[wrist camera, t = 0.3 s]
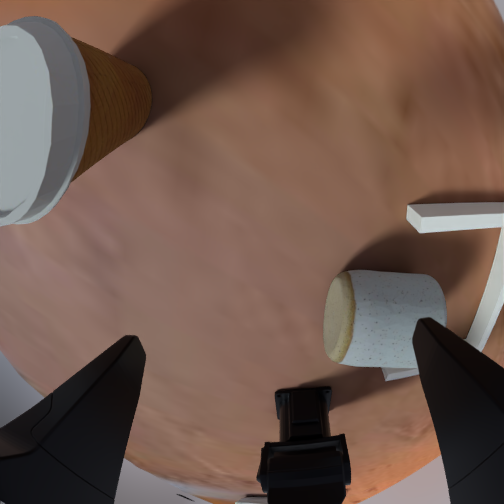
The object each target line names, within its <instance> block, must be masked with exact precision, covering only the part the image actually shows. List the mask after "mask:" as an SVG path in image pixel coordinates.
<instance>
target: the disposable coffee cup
mask: <svg viewBox="0 0 504 504" xmlns="http://www.w3.org/2000/svg"><path fill="white" fill-rule="evenodd" d="M151 103H152V95H151V88H150V85H149V83H148V81H147V79H146V77H145V75H144V74H143V73H142V72H141V71H140V70H139V69H138V68H137V67H135V66H133V65H131V64H128V63H126V62H125V61H122V60H121V59H118V58H117V57H114V56H112V55H110V54H108V53H106V52H104V51H102V50H100V49H98V48H95V47H93V46H91V45H88V44H86V43H84V42H82V41H79V40H77V39H75V38H72V37H70V36H69V35H68V34H67V33H66V32H65V31H64V30H63V29H62V28H61V27H60V26H59V25H58V24H57V23H56V22H54V21H52V20H50V19H47V18H42V17H38V16H32V17H24V18H21V19H18V20H15V21H13V22H11V23H9V24H7V25H4V26H1V27H0V226H4V225H9V224H28V223H31V222H34V221H36V220H38V219H40V218H41V217H43V216H44V215H46V214H47V213H48V212H49V211H50V210H51V209H52V208H54V207H55V206H56V205H57V203H58V202H59V200H60V199H61V197H62V196H63V195H64V193H65V192H66V190H67V189H68V187H69V185H70V183H71V182H72V181H74V180H75V179H76V178H77V177H79V176H80V175H81V174H82V173H84V172H85V171H86V170H88V169H89V168H90V167H92V166H93V165H94V164H95V163H97V162H98V161H99V160H101V159H102V158H104V157H105V156H106V155H108V154H109V153H111V152H112V151H113V150H115V149H116V148H118V147H119V146H120V145H122V144H123V143H125V142H126V141H128V140H130V139H131V138H133V137H134V136H135V135H136V134H137V133H138V132H139V131H140V130H141V129H142V127H143V126H144V124H145V122H146V120H147V118H148V116H149V113H150V109H151Z"/></svg>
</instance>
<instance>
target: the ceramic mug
mask: <svg viewBox="0 0 504 504" xmlns="http://www.w3.org/2000/svg"><path fill="white" fill-rule="evenodd" d="M424 317H431V318H433V319H434V320H436V321H437V322H439V323H440V324H442V325H443V326H444V327H446V324H447V310H446V301H445V297H444V294H443V292H442V289H441V287H440V285H439V283H438V282H437V281H436V280H435V279H434V278H433V277H431V276H429V275H426V274H411V273H397V272H380V271H371V270H351V271H344V272H341V273H340V274H338V275H337V276H336V277H335V278H334V280H333V281H332V283H331V286H330V288H329V292H328V296H327V300H326V306H325V313H324V324H323V340H324V346H325V351H326V354H327V355H328V357H329V358H330V359H331V360H332V361H334V362H337V363H340V364H345V365H350V366H357V367H389V368H418V366H417V361H416V357H415V353H414V349H413V344H412V337H413V334H414V330H415V327H416V323H417V321H418V319H420V318H424Z"/></svg>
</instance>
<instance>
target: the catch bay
mask: <svg viewBox="0 0 504 504" xmlns="http://www.w3.org/2000/svg"><path fill="white" fill-rule="evenodd" d="M406 219H407V220H408V221H409V222H410V223H411V224H412V226H413V227H414V228H415V229H416V230H417V231H418V232H419V233H429V232H442V231H455V230H468V229H481V228H494V227H502V228H501V233H500V237H499V242H498V246H497V250H496V254H495V258H494V261H493V265H492V268H491V272H490V275H489V278H488V282H487V285H486V288H485V291H484V294H483V297H482V300H481V302H480V305H479V308H478V311H477V313H476V316H475V318H474V321H473V323H472V326H471V328H470V331H469V333H468V335H467V338H466V339H463V340H465V341H466V342H468V343H469V344H471V345H472V346H473V347H475V348H476V349H478V350H479V351H480V352H482V350H483V348H484V346H485V344H486V342H487V340H488V337H489V335H490V333H491V331H492V329H493V327H494V324H495V322H496V320H497V317H498V315H499V313H500V310H501V308H502V305H503V303H504V202H476V203H438V204H413V205H408V206H407V218H406ZM381 368H382V371H383V374H384V378H385V381H390V380H395V379H400V378H405V377H409V376H414V375H418V374H419V371H418V368H389V367H381Z"/></svg>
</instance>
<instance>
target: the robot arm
mask: <svg viewBox="0 0 504 504" xmlns="http://www.w3.org/2000/svg"><path fill="white" fill-rule="evenodd" d="M412 344H413V349H414V353H415V357H416V361H417V366H418V371H419V375H420V380H421V384H422V387H423V390H424V394H425V397H426V400H427V403H428V407H429V410H430V413H431V417H432V420H433V424H434V428H435V431H436V435H437V439H438V443H439V447H440V451H441V455H442V460H443V464H444V469H445V474H446V479H447V484H448V488H449V496H450V502H451V504H504V368H503V367H501V366H500V365H499V364H497V363H496V362H494V361H493V360H492V359H490V358H489V357H487V356H486V355H485V354H483V353H482V352H480V351H479V350H478V349H476V348H475V347H473V346H472V345H471V344H469V343H468V342H466V341H465V340H463V339H462V338H460V337H459V336H458V335H456V334H455V333H453V332H452V331H450V330H449V329H447V328H446V327H444V326H443V325H442V324H440V323H439V322H437V321H436V320H434V319H433V318H431V317H424V318H420V319H418V321H417V323H416V327H415V330H414V334H413V337H412ZM145 361H146V354H145V351H144V349H143V347H142V344H141V342H140V340H139V338H138V337H137V336H135V335H125V336H123V337H122V338H121V339H120V340H118V341H117V342H116V343H114V344H113V345H112V346H111V347H109V348H108V349H107V350H105V351H104V352H103V353H102V354H100V355H99V356H98V357H96V358H95V359H94V360H93V361H91V362H90V363H89V364H87V365H86V366H85V367H84V368H82V369H81V370H80V371H78V372H77V373H76V374H75V375H73V376H72V377H71V378H70V379H68V380H67V381H66V382H64V383H63V384H62V385H61V386H59V387H58V388H57V389H55V390H54V391H53V393H50V394H49V395H48V396H47V397H45V398H44V399H43V400H41V401H40V402H39V403H38V404H36V405H35V406H33V407H32V408H31V409H29V410H28V411H26V412H25V413H23V414H22V415H20V416H19V417H17V418H16V419H14V420H12V421H11V422H9V423H8V424H6V425H5V426H3V427H1V428H0V504H114V499H115V495H116V490H117V485H118V481H119V476H120V472H121V467H122V463H123V459H124V454H125V450H126V446H127V442H128V438H129V434H130V430H131V426H132V422H133V419H134V415H135V411H136V408H137V404H138V400H139V396H140V391H141V384H142V378H143V373H144V367H145ZM331 394H332V389H331V387H321V388H311V389H299V390H285V391H276V392H275V402H276V410H277V418H278V419H279V420H280V442H265V446H264V447H263V448H261V462H260V466H259V469H258V473H257V481H258V482H260V483H261V487H262V490H263V492H264V493H267V503H268V504H342V502H343V501H344V499H345V497H346V488H345V485H350V484H351V467H350V459H349V454H348V449H347V444H346V439H345V434H339V435H337V436H331V433H330V424H329V416H328V414H329V407H330V401H331Z"/></svg>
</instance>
